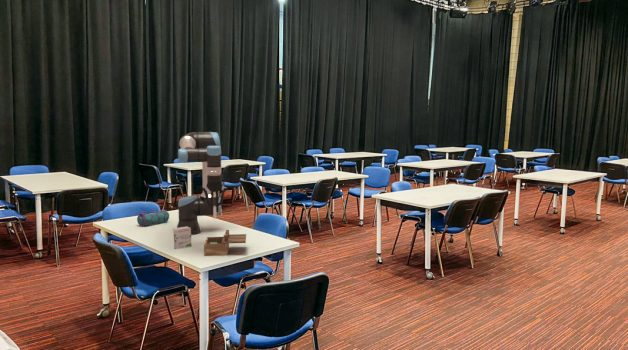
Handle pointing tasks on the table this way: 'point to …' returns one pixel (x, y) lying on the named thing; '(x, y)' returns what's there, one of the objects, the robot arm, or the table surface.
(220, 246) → the oak box
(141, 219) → the pencil case
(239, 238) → the lid
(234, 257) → the table surface
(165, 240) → the table surface
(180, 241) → the ink box
